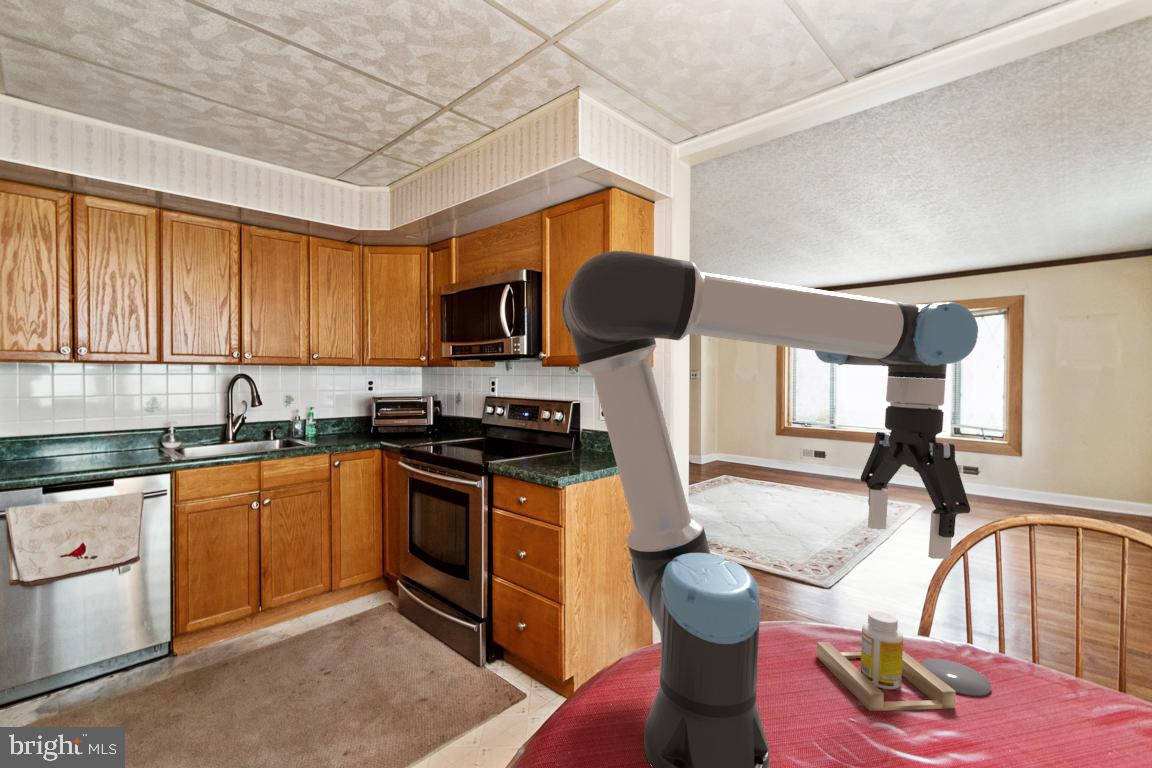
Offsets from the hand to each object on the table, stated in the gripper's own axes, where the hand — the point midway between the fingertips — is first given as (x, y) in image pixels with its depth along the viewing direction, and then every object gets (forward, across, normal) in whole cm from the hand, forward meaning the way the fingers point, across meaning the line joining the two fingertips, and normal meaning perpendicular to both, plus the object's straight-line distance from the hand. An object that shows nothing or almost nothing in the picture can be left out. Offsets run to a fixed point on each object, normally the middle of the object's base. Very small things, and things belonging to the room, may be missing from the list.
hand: (905, 542), depth 81 cm
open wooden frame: (+22, 0, +2) cm, 22 cm away
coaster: (+22, 0, -10) cm, 24 cm away
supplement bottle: (+22, 0, +2) cm, 22 cm away
